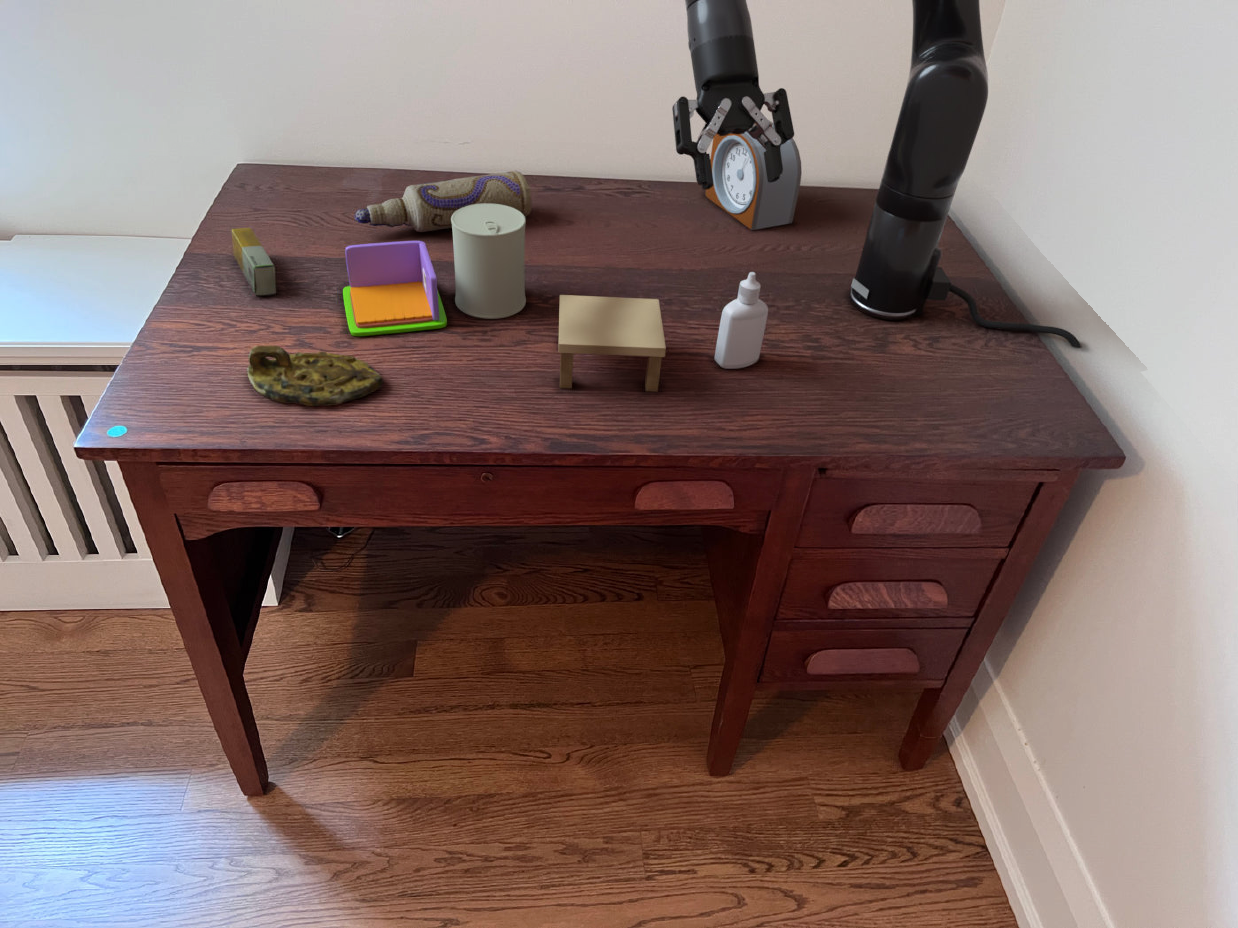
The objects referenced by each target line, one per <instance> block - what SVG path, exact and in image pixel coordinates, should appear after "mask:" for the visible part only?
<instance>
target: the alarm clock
mask: <svg viewBox="0 0 1238 928" xmlns="http://www.w3.org/2000/svg"><path fill="white" fill-rule="evenodd" d="M768 121H769V122H770V124H771V127H772V128H773V129H774V131H775V128H774V123H773V121H771V120H769V119H768ZM755 124H756V123H755ZM780 150H781V158H782V165H783V172H782V174H781V175H780V178H779V179H778V180H777V181H775V182H768V180H767V174H766V167H765V160H764V152H765V151H766V150H765V148H764V147H763V146H762V145H761V144H760V143H759V142H758V141H757V140H756V139H753V138H752V137H751V136H750V135H749V134H748V132H747V131H746V132H745V133H744V134H732V133H730V134H728V135H725V136H719V134H716V135H715V136H714V138H713V139H712V145H711V151H710V162H711V168H712V175H713V186H712V187H711V188H710V189H705V197H706V198H707V199H709V200H710V201H711V202H712V203H714V204H715V205H717V207H719V208H721V209H722V210H724V212H726V213H727V214H729V215H730V216H732V217H733V218H734V219H736V220H737V221H738V222H740V223H741V224H742V225H744V226H745V227H746V228H748V229H749V230H750V231H755V230H761V229H766V228H771V227H772V228H773V227H778V226H782V225H788V224H792V223H793V220H794V216H795V211H796V207H797V201H798V197H799V192H800V188H801V183H802V181H801V180H802V173H803V172H802V160H801V155H800V151H799V148H798V145H797V143H796V141H795V140H794V137H793V138H792V139H790V140H788V141H787V142H786V143H784V144H782V145H781V147H780Z"/></svg>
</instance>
